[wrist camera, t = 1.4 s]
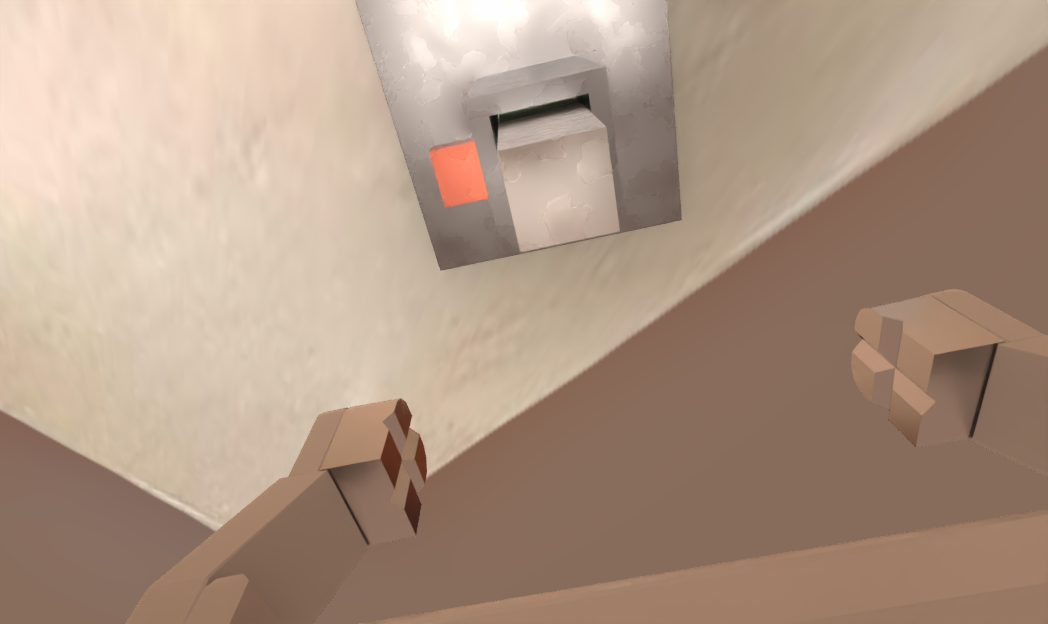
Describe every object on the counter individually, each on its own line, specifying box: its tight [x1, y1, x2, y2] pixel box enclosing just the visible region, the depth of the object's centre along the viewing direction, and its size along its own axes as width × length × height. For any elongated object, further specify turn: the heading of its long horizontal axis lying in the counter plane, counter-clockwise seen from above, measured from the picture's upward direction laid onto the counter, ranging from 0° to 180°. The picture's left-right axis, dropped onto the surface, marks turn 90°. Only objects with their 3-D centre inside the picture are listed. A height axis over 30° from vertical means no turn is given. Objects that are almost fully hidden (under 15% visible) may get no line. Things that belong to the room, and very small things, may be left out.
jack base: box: [355, 0, 682, 270], centre depth 33 cm, size 20×20×14 cm
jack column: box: [497, 97, 620, 252], centre depth 29 cm, size 4×4×18 cm
